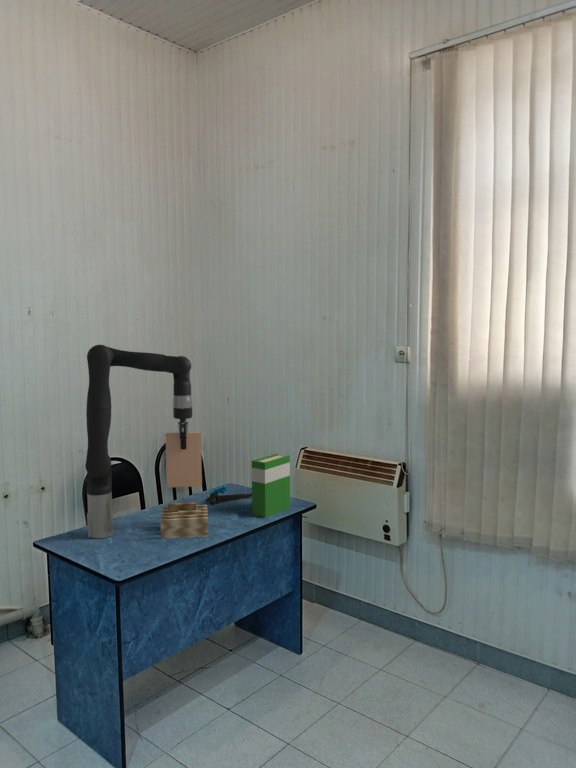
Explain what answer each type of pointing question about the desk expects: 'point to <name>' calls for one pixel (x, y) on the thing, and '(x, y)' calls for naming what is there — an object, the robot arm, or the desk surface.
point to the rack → (184, 524)
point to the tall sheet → (183, 460)
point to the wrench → (226, 497)
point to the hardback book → (270, 485)
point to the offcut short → (189, 512)
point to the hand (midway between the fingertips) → (183, 448)
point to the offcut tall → (181, 507)
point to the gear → (218, 491)
